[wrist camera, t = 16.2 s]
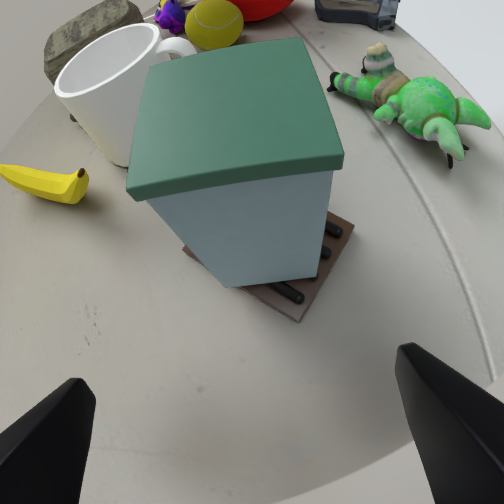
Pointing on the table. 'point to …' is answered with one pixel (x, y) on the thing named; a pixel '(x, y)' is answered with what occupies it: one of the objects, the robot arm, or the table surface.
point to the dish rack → (302, 290)
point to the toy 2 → (412, 102)
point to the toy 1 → (171, 15)
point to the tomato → (260, 8)
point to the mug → (114, 84)
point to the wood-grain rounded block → (86, 33)
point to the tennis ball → (214, 24)
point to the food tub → (239, 158)
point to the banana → (47, 183)
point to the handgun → (359, 12)
